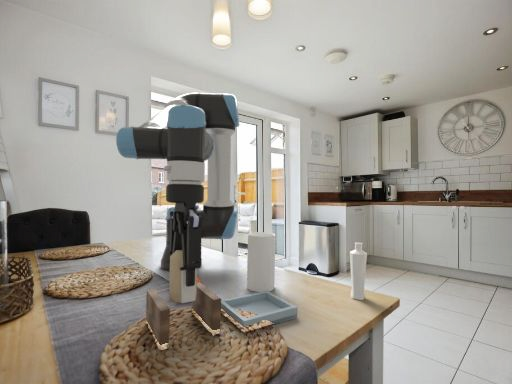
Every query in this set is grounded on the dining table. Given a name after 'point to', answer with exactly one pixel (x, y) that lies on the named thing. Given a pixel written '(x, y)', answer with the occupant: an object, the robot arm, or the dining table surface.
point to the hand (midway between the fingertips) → (183, 295)
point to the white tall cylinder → (261, 261)
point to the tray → (259, 308)
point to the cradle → (204, 306)
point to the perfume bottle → (358, 271)
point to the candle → (176, 276)
